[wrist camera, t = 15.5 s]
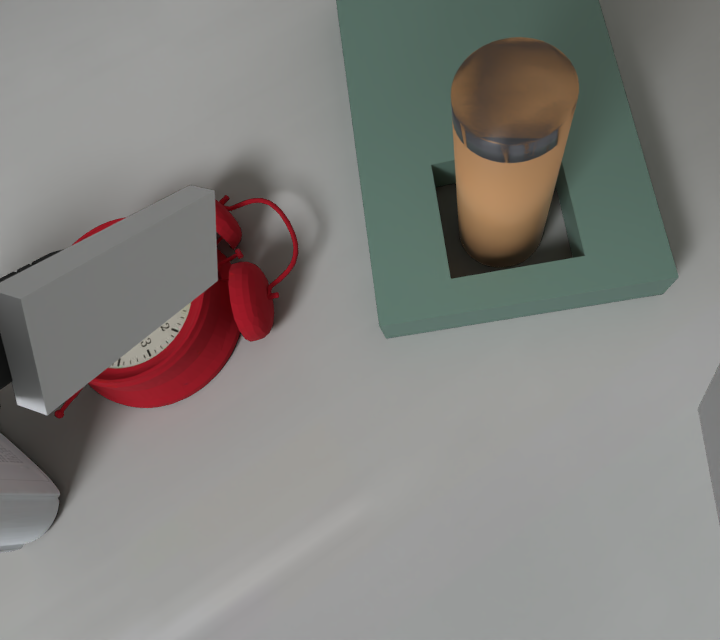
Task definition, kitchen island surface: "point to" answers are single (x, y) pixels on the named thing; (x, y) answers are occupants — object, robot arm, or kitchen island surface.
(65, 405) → the alarm clock
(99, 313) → the robot arm
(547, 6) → the socket board
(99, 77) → the kitchen island surface
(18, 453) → the photo printer
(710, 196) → the kitchen island surface
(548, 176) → the plug
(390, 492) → the kitchen island surface
